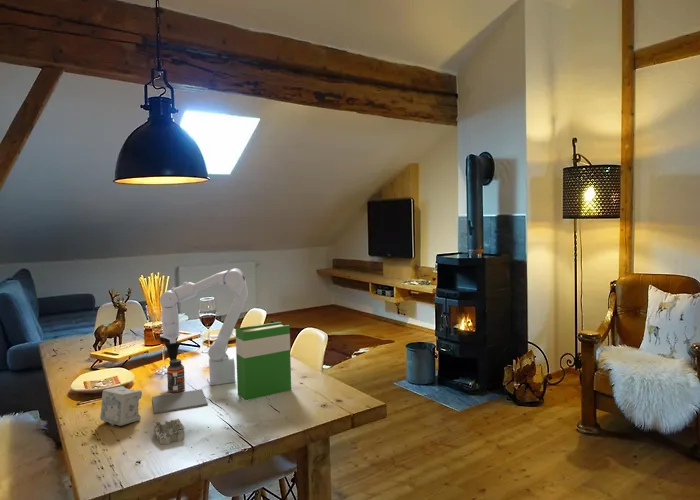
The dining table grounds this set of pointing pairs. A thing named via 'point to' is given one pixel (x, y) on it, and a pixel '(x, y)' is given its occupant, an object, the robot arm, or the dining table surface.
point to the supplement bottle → (175, 376)
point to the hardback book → (263, 360)
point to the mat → (178, 401)
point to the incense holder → (120, 405)
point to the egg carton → (169, 431)
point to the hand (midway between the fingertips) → (172, 357)
